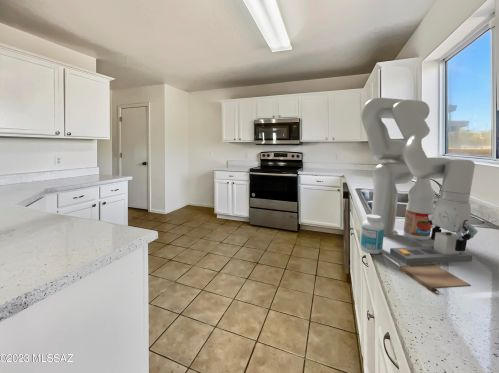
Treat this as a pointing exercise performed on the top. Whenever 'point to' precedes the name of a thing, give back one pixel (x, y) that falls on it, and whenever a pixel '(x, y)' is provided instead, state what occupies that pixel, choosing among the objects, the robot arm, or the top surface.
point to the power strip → (427, 255)
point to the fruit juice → (419, 210)
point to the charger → (445, 243)
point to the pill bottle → (372, 235)
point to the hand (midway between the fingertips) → (446, 244)
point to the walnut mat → (432, 276)
